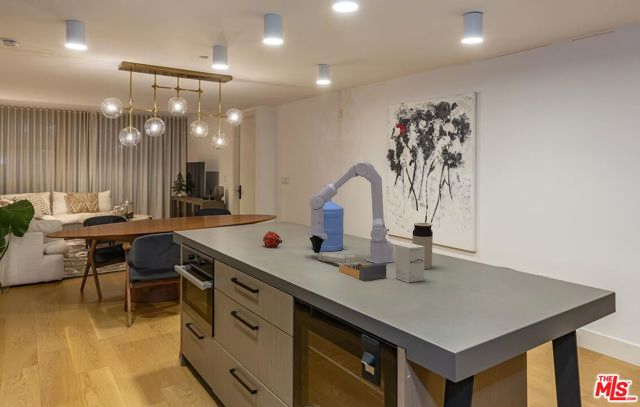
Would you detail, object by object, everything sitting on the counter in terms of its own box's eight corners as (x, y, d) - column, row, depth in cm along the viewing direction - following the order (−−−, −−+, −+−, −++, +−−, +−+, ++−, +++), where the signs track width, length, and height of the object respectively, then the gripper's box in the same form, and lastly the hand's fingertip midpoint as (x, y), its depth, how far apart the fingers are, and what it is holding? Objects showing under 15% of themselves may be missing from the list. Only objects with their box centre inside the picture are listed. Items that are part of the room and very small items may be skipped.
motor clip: (359, 268, 175) (359, 256, 174) (386, 277, 160) (386, 264, 160) (338, 271, 170) (338, 258, 169) (364, 281, 155) (364, 267, 155)
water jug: (348, 248, 220) (349, 192, 217) (333, 253, 206) (333, 194, 204) (322, 245, 228) (323, 191, 226) (305, 249, 215) (306, 193, 213)
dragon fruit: (267, 247, 228) (278, 254, 218) (256, 239, 223) (267, 246, 213) (276, 234, 229) (288, 240, 220) (265, 226, 224) (277, 232, 215)
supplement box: (408, 283, 153) (409, 247, 152) (395, 278, 159) (395, 244, 158) (424, 280, 156) (425, 246, 155) (411, 276, 163) (411, 243, 162)
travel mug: (435, 267, 178) (436, 223, 177) (425, 270, 172) (426, 225, 171) (418, 264, 184) (419, 222, 182) (407, 267, 178) (409, 223, 176)
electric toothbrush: (325, 251, 192) (360, 252, 171) (326, 266, 192) (361, 269, 171) (315, 252, 189) (349, 253, 168) (316, 267, 189) (350, 271, 168)
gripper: (301, 221, 197) (301, 250, 198) (317, 225, 185) (317, 256, 186) (315, 220, 201) (314, 249, 202) (331, 224, 188) (331, 255, 189)
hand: (316, 252), depth 194 cm, fingers closed
